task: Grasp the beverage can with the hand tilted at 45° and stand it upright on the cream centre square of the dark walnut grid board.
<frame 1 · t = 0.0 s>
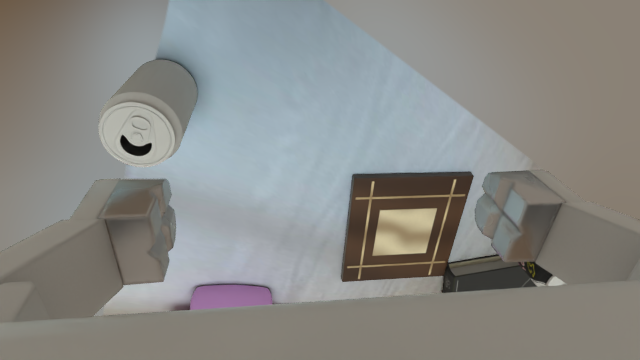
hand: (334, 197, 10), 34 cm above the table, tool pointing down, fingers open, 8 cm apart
teapot: (234, 306, 59), on the table
book: (480, 301, 67), on the table
beverage can: (167, 87, 41), on the table
beverage can 2: (511, 222, 58), on the table
board: (401, 227, 55), on the table
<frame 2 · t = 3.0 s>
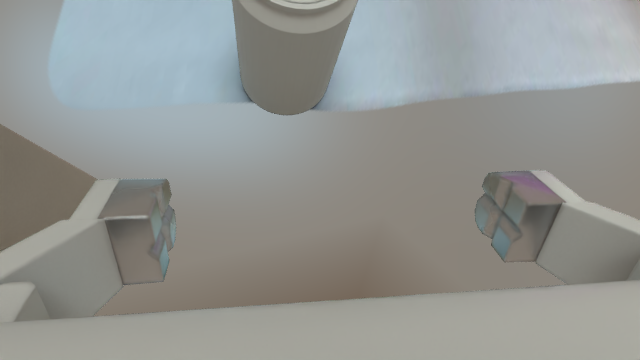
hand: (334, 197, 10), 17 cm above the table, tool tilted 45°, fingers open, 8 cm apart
beverage can: (284, 80, 29), on the table
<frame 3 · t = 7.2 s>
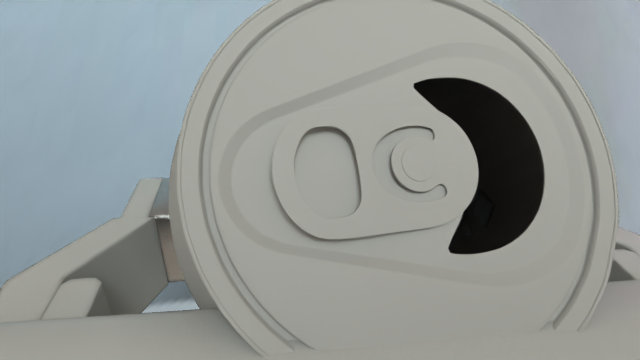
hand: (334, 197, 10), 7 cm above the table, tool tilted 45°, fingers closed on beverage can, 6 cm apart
beverage can: (309, 243, 16), on the table, touching gripper
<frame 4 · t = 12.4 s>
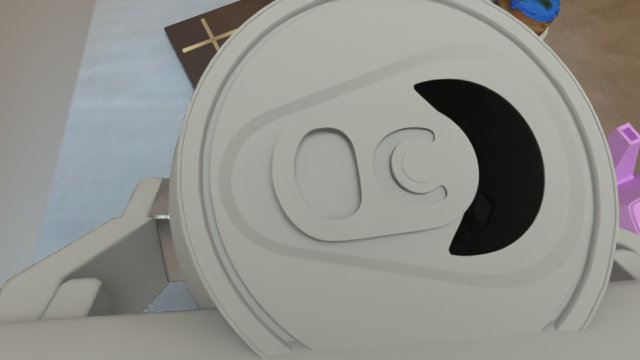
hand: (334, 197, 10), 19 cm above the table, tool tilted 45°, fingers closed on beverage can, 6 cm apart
teapot: (597, 256, 32), on the table
dessert: (508, 15, 37), on the table
beverage can: (309, 243, 16), point 13 cm above the table, touching gripper
board: (311, 76, 32), on the table
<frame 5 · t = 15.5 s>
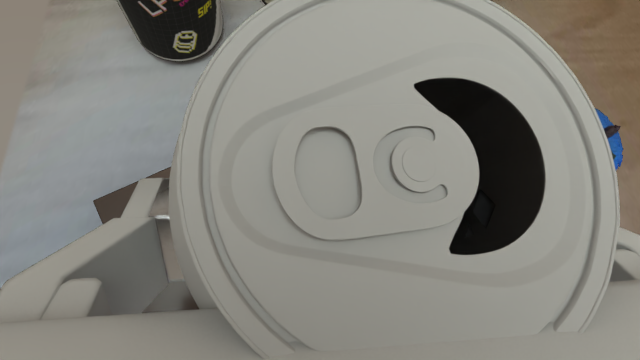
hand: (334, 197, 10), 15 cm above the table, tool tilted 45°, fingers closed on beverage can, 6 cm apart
dessert: (550, 149, 29), on the table
beverage can: (309, 243, 16), point 8 cm above the table, touching gripper
beverage can 2: (181, 30, 27), on the table
board: (294, 253, 24), on the table
when the fingers open (8 cm above the table, at t = 18.1 s): beverage can stays where it is, resting on board.
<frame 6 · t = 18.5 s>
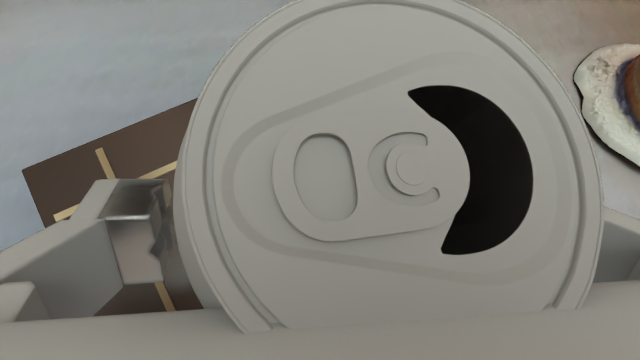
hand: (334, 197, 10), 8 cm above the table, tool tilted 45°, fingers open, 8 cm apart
dessert: (636, 109, 22), on the table
beverage can: (309, 242, 17), point 1 cm above the table, touching board
board: (306, 244, 18), on the table
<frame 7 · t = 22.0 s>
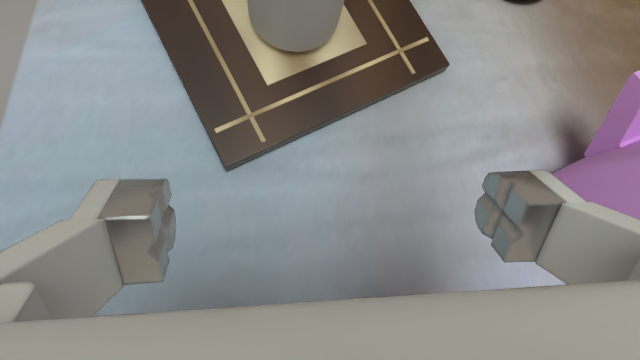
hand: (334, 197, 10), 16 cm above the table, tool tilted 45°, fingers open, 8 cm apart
teapot: (610, 227, 29), on the table
beverage can: (293, 19, 28), point 1 cm above the table, touching board
board: (291, 27, 29), on the table
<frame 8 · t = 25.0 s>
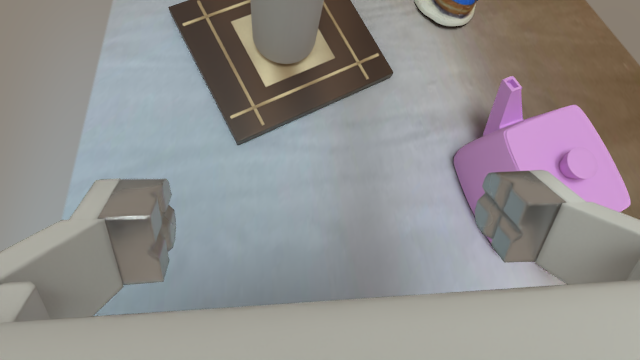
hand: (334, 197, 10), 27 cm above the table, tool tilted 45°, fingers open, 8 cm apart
teapot: (504, 186, 41), on the table
dessert: (443, 0, 46), on the table
beverage can: (283, 41, 41), point 1 cm above the table, touching board
board: (283, 45, 41), on the table
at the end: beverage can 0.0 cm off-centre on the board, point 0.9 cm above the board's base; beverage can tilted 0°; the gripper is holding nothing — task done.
